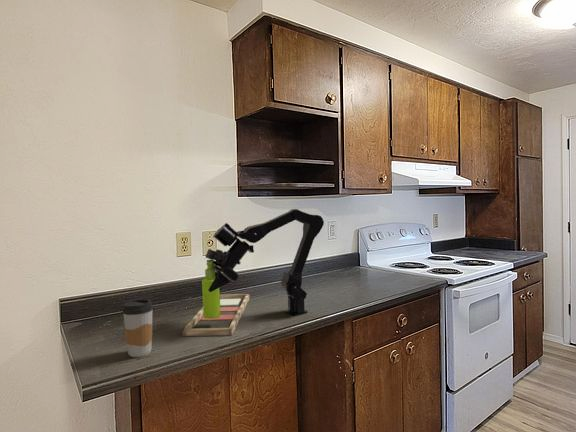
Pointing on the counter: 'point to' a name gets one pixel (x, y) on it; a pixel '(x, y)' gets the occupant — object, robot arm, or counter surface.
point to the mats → (224, 317)
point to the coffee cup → (138, 326)
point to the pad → (229, 302)
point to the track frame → (217, 331)
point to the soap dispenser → (210, 294)
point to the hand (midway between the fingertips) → (206, 289)
